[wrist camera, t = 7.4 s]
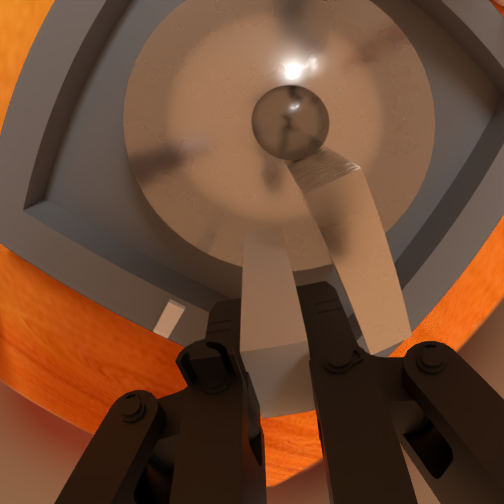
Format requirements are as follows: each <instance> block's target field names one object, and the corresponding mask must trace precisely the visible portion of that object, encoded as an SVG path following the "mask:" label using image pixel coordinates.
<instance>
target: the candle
mask: <svg viewBox="0 0 504 504" xmlns="http://www.w3.org/2000/svg"><path fill="white" fill-rule="evenodd" d="M493 1H495V2H496V3H497V4H499V5H501V6H503V7H504V0H493Z"/></svg>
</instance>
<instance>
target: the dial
mask: <svg viewBox="0 0 504 504" xmlns="http://www.w3.org/2000/svg"><path fill="white" fill-rule="evenodd" d="M123 125H124V137H125V144H126V149H127V153H128V158H129V162H130V164H131V167H132V170H133V172H134V175H135V178H136V180H137V182H138V184H139V186H140V188H141V190H142V192H143V193H144V195H145V197H146V199H147V200H148V201H149V203H150V204H151V206H152V207H153V208H154V210H155V211H156V213H157V214H158V215H159V216H160V217H161V218H162V219H163V220H164V221H165V222H166V223H167V225H168V226H169V227H170V228H171V229H173V230H174V231H175V232H176V233H177V234H179V235H180V236H181V237H182V238H183V239H185V240H186V241H187V242H189V243H190V244H192V245H194V246H195V247H197V248H198V249H200V250H201V251H203V252H205V253H207V254H209V255H211V256H213V257H216V258H218V259H220V260H223V261H225V262H228V263H231V264H234V265H237V266H241V267H243V246H244V234H245V233H250V232H255V231H260V230H265V229H270V228H275V227H281V226H282V231H283V235H284V239H285V243H286V247H287V251H288V256H289V260H290V264H291V268H292V271H299V270H306V269H313V268H317V267H321V266H325V265H329V264H332V265H333V267H334V270H335V272H336V274H337V277H338V279H339V281H340V284H341V286H342V288H343V291H344V293H345V295H346V297H347V300H348V302H349V304H350V307H351V309H352V311H353V313H354V316H355V318H356V321H357V323H358V325H359V328H360V330H361V332H362V335H363V337H364V340H365V342H366V344H367V347H368V349H369V352H370V354H371V355H373V354H376V353H378V352H380V351H382V350H384V349H387V348H389V347H391V346H393V345H395V344H397V343H399V342H401V341H403V340H405V339H407V338H409V337H411V336H412V333H411V329H410V324H409V320H408V316H407V311H406V307H405V303H404V299H403V295H402V291H401V288H400V284H399V280H398V277H397V273H396V269H395V266H394V262H393V259H392V256H391V252H390V249H389V246H388V242H387V239H386V236H385V233H386V232H387V231H388V230H389V229H390V228H391V227H392V226H393V225H394V224H395V223H396V222H397V221H398V220H399V218H400V217H401V216H402V215H403V214H404V213H405V211H406V210H407V209H408V207H409V206H410V204H411V203H412V201H413V200H414V198H415V196H416V195H417V193H418V191H419V189H420V187H421V185H422V183H423V181H424V178H425V175H426V173H427V170H428V167H429V164H430V160H431V155H432V151H433V145H434V136H435V111H434V102H433V97H432V92H431V87H430V84H429V81H428V78H427V75H426V72H425V69H424V67H423V65H422V62H421V60H420V58H419V56H418V54H417V52H416V50H415V49H414V47H413V46H412V44H411V43H410V41H409V40H408V38H407V37H406V35H405V34H404V33H403V31H402V30H401V29H400V28H399V27H398V26H397V25H396V23H395V22H394V21H393V20H392V19H391V18H390V17H389V16H388V15H387V14H386V13H384V12H383V11H382V10H381V9H380V8H379V7H377V6H376V5H375V4H374V3H372V2H371V1H369V0H186V1H184V2H183V3H182V4H180V5H179V6H178V7H176V8H175V9H174V10H173V11H172V12H171V13H170V14H169V15H168V16H167V17H166V18H165V19H164V20H163V21H162V22H161V23H160V24H159V25H158V26H157V27H156V29H155V30H154V31H153V33H152V34H151V35H150V37H149V38H148V40H147V41H146V42H145V44H144V46H143V48H142V50H141V52H140V53H139V55H138V57H137V59H136V61H135V64H134V67H133V69H132V72H131V75H130V78H129V81H128V85H127V90H126V95H125V100H124V115H123Z"/></svg>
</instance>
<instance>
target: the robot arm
mask: <svg viewBox="0 0 504 504" xmlns="http://www.w3.org/2000/svg"><path fill="white" fill-rule="evenodd" d="M207 324H208V326H207V329H206V335H205V339H202V340H198V341H195V342H193V343H192V344H190V345H188V346H186V347H185V348H184V349H183V350H182V351H181V352H180V353H179V355H178V357H177V359H176V361H175V362H176V364H177V366H178V367H179V369H180V371H181V373H182V375H183V377H184V379H185V381H186V383H187V385H188V387H186V388H185V389H183V390H181V391H179V392H177V393H174V394H171V395H168V396H165V397H162V398H159V399H156V398H155V397H154V395H153V394H152V393H150V392H147V391H145V390H135V391H132V392H128V393H126V394H124V395H123V396H121V397H120V398H118V399H117V400H116V402H115V403H114V404H113V405H112V407H111V408H110V410H109V412H108V413H107V415H106V417H105V418H104V420H103V421H102V423H101V425H100V426H99V428H98V430H97V431H96V433H95V435H94V436H93V438H92V440H91V441H90V443H89V445H88V447H87V448H86V450H85V451H84V453H83V455H82V456H81V458H80V460H79V462H78V463H77V465H76V467H75V469H74V470H73V472H72V474H71V475H70V477H69V479H68V481H67V483H66V484H65V486H64V488H63V489H62V491H61V493H60V495H59V497H58V498H57V500H56V502H55V504H267V496H266V471H265V446H264V433H263V430H262V427H261V425H260V412H261V415H262V418H269V417H276V416H283V415H289V414H295V413H301V412H307V411H313V410H316V414H317V421H318V430H319V439H320V441H321V447H322V454H323V460H324V466H325V473H326V479H327V486H328V493H329V500H330V504H418V503H417V499H416V495H415V492H414V488H413V485H412V482H411V478H410V475H409V472H408V468H407V465H406V462H405V459H404V456H403V453H402V449H401V446H400V444H401V445H402V447H403V448H404V450H405V451H406V453H407V454H408V456H409V457H410V459H411V460H412V461H413V463H414V464H415V466H416V467H417V469H418V470H419V472H420V473H421V475H422V476H423V478H424V479H425V481H426V482H427V484H428V485H429V487H430V488H431V490H432V491H433V493H434V494H435V496H436V497H437V499H438V500H439V502H440V503H441V504H504V399H503V398H502V397H501V396H500V395H499V394H498V393H497V392H496V391H495V390H494V389H493V388H492V387H491V386H490V385H489V384H488V383H487V382H486V381H485V380H484V379H483V378H482V377H481V376H480V375H479V374H478V373H477V372H476V371H475V370H474V369H473V368H472V367H471V366H470V365H469V364H468V363H467V362H466V361H465V360H464V359H462V358H461V357H460V356H459V355H458V354H457V353H456V352H455V351H454V350H453V349H452V348H450V347H449V346H447V345H446V344H444V343H440V342H436V341H424V342H421V343H418V344H415V345H414V346H413V347H411V348H410V349H409V350H408V351H407V353H406V355H405V357H378V356H375V355H371V354H369V353H367V352H366V351H365V350H364V349H363V348H361V347H360V346H359V345H358V343H357V341H356V339H355V336H354V334H353V331H352V329H351V326H350V324H349V321H348V318H347V316H346V313H345V311H344V309H343V306H342V303H341V301H340V298H339V296H338V294H337V291H336V289H335V288H334V287H333V286H332V285H330V284H329V283H328V282H326V281H322V282H317V283H312V284H307V285H302V286H295V281H294V277H293V273H292V268H291V264H290V260H289V256H288V251H287V247H286V243H285V239H284V235H283V231H282V226H281V227H275V228H270V229H265V230H260V231H255V232H250V233H245V234H244V246H243V273H242V298H237V299H231V300H225V301H219V302H217V303H216V304H215V305H214V307H213V308H212V309H211V311H210V312H209V317H208V323H207ZM399 442H400V443H399Z"/></svg>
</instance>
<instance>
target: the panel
mask: <svg viewBox="0 0 504 504" xmlns="http://www.w3.org/2000/svg"><path fill="white" fill-rule="evenodd" d="M184 1H186V0H55V2H54V3H53V5H52V7H51V9H50V11H49V12H48V14H47V16H46V18H45V20H44V22H43V24H42V26H41V28H40V30H39V32H38V34H37V36H36V38H35V40H34V42H33V44H32V47H31V49H30V51H29V53H28V56H27V58H26V60H25V63H24V65H23V68H22V70H21V73H20V75H19V78H18V81H17V83H16V86H15V89H14V92H13V95H12V98H11V101H10V104H9V107H8V110H7V113H6V116H5V120H4V123H3V127H2V130H1V134H0V243H1V244H2V245H4V246H5V247H6V248H8V249H9V250H11V251H12V252H14V253H15V254H17V255H18V256H20V257H21V258H23V259H24V260H26V261H27V262H29V263H30V264H32V265H34V266H35V267H37V268H38V269H40V270H41V271H43V272H45V273H46V274H48V275H49V276H51V277H53V278H54V279H56V280H58V281H59V282H61V283H63V284H64V285H66V286H68V287H69V288H71V289H73V290H75V291H76V292H78V293H80V294H81V295H83V296H85V297H87V298H89V299H90V300H92V301H94V302H96V303H98V304H99V305H101V306H103V307H105V308H107V309H109V310H111V311H112V312H114V313H116V314H118V315H120V316H122V317H124V318H126V319H128V320H130V321H132V322H134V323H136V324H138V325H140V326H142V327H144V328H146V329H148V330H150V331H152V332H154V333H156V334H158V335H160V336H162V337H164V338H167V339H169V340H171V341H173V342H175V343H177V344H180V345H182V346H184V347H186V346H188V345H190V344H192V343H193V342H195V341H198V340H202V339H205V335H206V329H207V326H208V324H207V323H208V317H209V312H210V311H211V309H212V308H213V307H214V305H215V304H216V303H217V302H219V301H225V300H231V299H237V298H242V273H243V267H241V266H237V265H234V264H231V263H228V262H225V261H223V260H220V259H218V258H216V257H213V256H211V255H209V254H207V253H205V252H203V251H201V250H200V249H198V248H197V247H195V246H194V245H192V244H190V243H189V242H187V241H186V240H185V239H183V238H182V237H181V236H180V235H179V234H177V233H176V232H175V231H174V230H173V229H171V228H170V227H169V226H168V225H167V223H166V222H165V221H164V220H163V219H162V218H161V217H160V216H159V215H158V214H157V213H156V211H155V210H154V208H153V207H152V206H151V204H150V203H149V201H148V200H147V199H146V197H145V195H144V193H143V192H142V190H141V188H140V186H139V184H138V182H137V180H136V178H135V175H134V172H133V170H132V167H131V164H130V162H129V158H128V153H127V149H126V144H125V137H124V125H123V115H124V100H125V95H126V90H127V85H128V81H129V78H130V75H131V72H132V69H133V67H134V64H135V61H136V59H137V57H138V55H139V53H140V52H141V50H142V48H143V46H144V44H145V42H146V41H147V40H148V38H149V37H150V35H151V34H152V33H153V31H154V30H155V29H156V27H157V26H158V25H159V24H160V23H161V22H162V21H163V20H164V19H165V18H166V17H167V16H168V15H169V14H170V13H171V12H172V11H173V10H174V9H175V8H176V7H178V6H179V5H180V4H182V3H183V2H184ZM369 1H371V2H372V3H374V4H375V5H376V6H377V7H379V8H380V9H381V10H382V11H383V12H384V13H386V14H387V15H388V16H389V17H390V18H391V19H392V20H393V21H394V22H395V23H396V25H397V26H398V27H399V28H400V29H401V30H402V31H403V33H404V34H405V35H406V37H407V38H408V40H409V41H410V43H411V44H412V46H413V47H414V49H415V50H416V52H417V54H418V56H419V58H420V60H421V62H422V65H423V67H424V69H425V72H426V75H427V78H428V81H429V84H430V87H431V92H432V97H433V102H434V111H435V136H434V145H433V151H432V155H431V160H430V164H429V167H428V170H427V173H426V175H425V178H424V181H423V183H422V185H421V187H420V189H419V191H418V193H417V195H416V196H415V198H414V200H413V201H412V203H411V204H410V206H409V207H408V209H407V210H406V211H405V213H404V214H403V215H402V216H401V217H400V218H399V220H398V221H397V222H396V223H395V224H394V225H393V226H392V227H391V228H390V229H389V230H388V231H387V232H386V233H385V236H386V239H387V242H388V246H389V249H390V252H391V256H392V259H393V262H394V266H395V269H396V273H397V277H398V280H399V284H400V288H401V291H402V295H403V299H404V303H405V307H406V311H407V316H408V320H409V324H410V329H411V333H412V332H413V330H414V329H415V328H416V327H417V326H418V325H419V324H420V323H421V322H422V321H423V320H424V318H425V317H426V316H427V315H428V314H429V313H430V312H431V311H432V309H433V308H434V307H435V306H436V305H437V304H438V302H439V301H440V300H441V299H442V298H443V297H444V295H445V294H446V293H447V292H448V290H449V289H450V288H451V287H452V286H453V284H454V283H455V282H456V281H457V279H458V278H459V277H460V276H461V274H462V273H463V272H464V270H465V269H466V268H467V266H468V265H469V264H470V262H471V261H472V260H473V258H474V257H475V256H476V254H477V253H478V252H479V250H480V249H481V247H482V246H483V245H484V243H485V242H486V240H487V239H488V237H489V236H490V234H491V233H492V231H493V230H494V228H495V227H496V225H497V224H498V222H499V221H500V219H501V218H502V216H503V215H504V17H503V16H502V15H501V13H500V12H499V11H498V10H497V9H496V8H495V7H494V5H493V4H492V3H491V2H490V1H489V0H369ZM292 273H293V277H294V281H295V286H302V285H307V284H312V283H317V282H322V281H326V282H328V283H329V284H330V285H332V286H333V287H334V288H335V289H336V291H337V294H338V296H339V298H340V301H341V303H342V306H343V309H344V311H345V313H346V316H347V318H348V321H349V324H350V326H351V329H352V331H353V334H354V336H355V339H356V341H357V343H358V345H359V346H360V347H361V348H363V349H364V350H365V351H366V352H367V353H369V354H370V352H369V349H368V347H367V344H366V342H365V340H364V337H363V335H362V332H361V330H360V328H359V325H358V323H357V321H356V318H355V316H354V313H353V311H352V309H351V307H350V304H349V302H348V300H347V297H346V295H345V293H344V291H343V288H342V286H341V284H340V281H339V279H338V277H337V274H336V272H335V270H334V267H333V265H332V264H329V265H325V266H321V267H317V268H313V269H306V270H299V271H292ZM403 341H404V340H403ZM403 341H401V342H399V343H397V344H395V345H393V346H391V347H389V348H387V349H384V350H382V351H380V352H378V353H376V354H373V355H375V356H378V357H388V356H389V355H390V354H391V353H392V352H393V351H394V350H395V349H396V348H397V347H398V346H399V345H400V344H401V343H402V342H403Z"/></svg>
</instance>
